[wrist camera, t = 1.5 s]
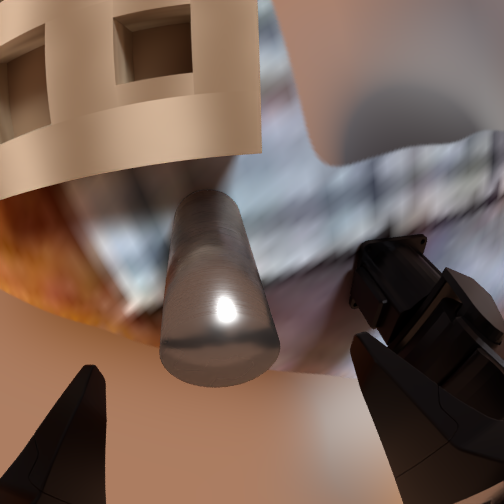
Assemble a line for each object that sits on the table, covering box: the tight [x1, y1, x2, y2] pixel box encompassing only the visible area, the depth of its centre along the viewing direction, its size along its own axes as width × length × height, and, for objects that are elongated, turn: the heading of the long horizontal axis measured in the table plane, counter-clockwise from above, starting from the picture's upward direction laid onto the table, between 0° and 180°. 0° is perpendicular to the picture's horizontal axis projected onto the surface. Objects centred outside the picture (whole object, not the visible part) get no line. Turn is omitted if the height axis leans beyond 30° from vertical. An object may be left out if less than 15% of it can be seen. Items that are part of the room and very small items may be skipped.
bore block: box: [0, 0, 262, 200], centre depth 10 cm, size 15×10×4 cm, turn 92°
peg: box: [160, 190, 280, 387], centre depth 13 cm, size 4×4×10 cm
